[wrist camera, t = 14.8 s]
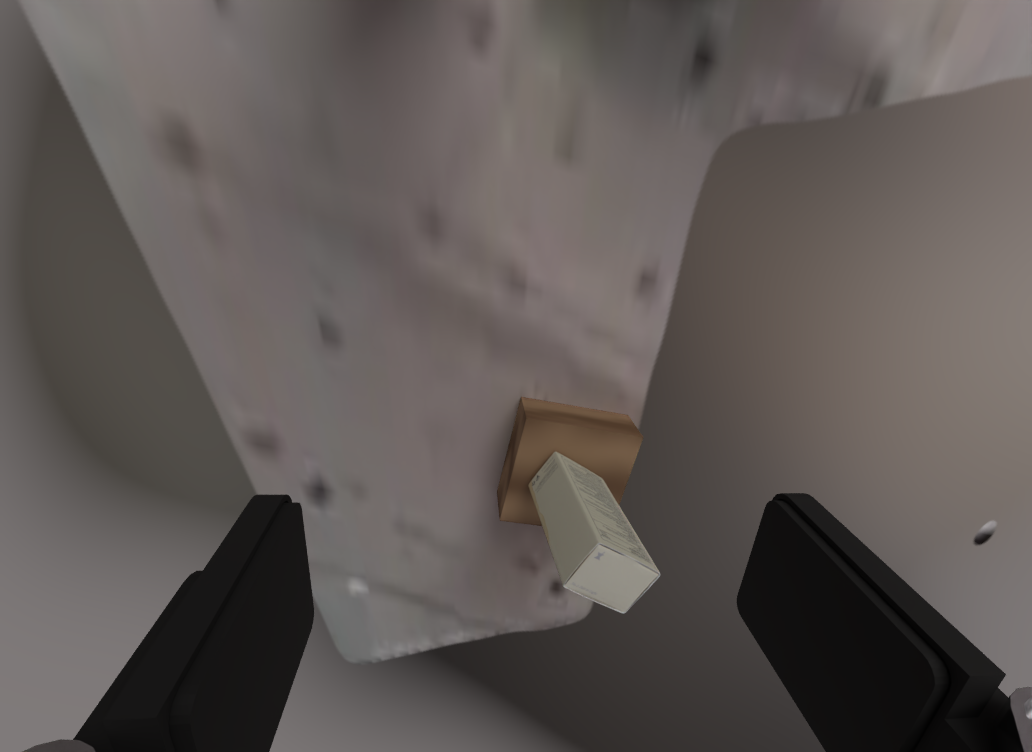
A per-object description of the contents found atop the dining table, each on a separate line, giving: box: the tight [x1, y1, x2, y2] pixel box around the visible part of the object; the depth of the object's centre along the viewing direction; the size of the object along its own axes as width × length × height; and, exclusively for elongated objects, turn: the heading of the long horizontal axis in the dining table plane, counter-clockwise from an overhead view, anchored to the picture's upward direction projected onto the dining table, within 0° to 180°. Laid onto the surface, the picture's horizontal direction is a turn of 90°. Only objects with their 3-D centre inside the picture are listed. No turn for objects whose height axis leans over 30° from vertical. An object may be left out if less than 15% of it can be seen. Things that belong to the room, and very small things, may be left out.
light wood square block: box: [497, 397, 643, 526], centre depth 47 cm, size 11×11×5 cm
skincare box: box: [528, 452, 660, 613], centre depth 39 cm, size 6×4×12 cm
